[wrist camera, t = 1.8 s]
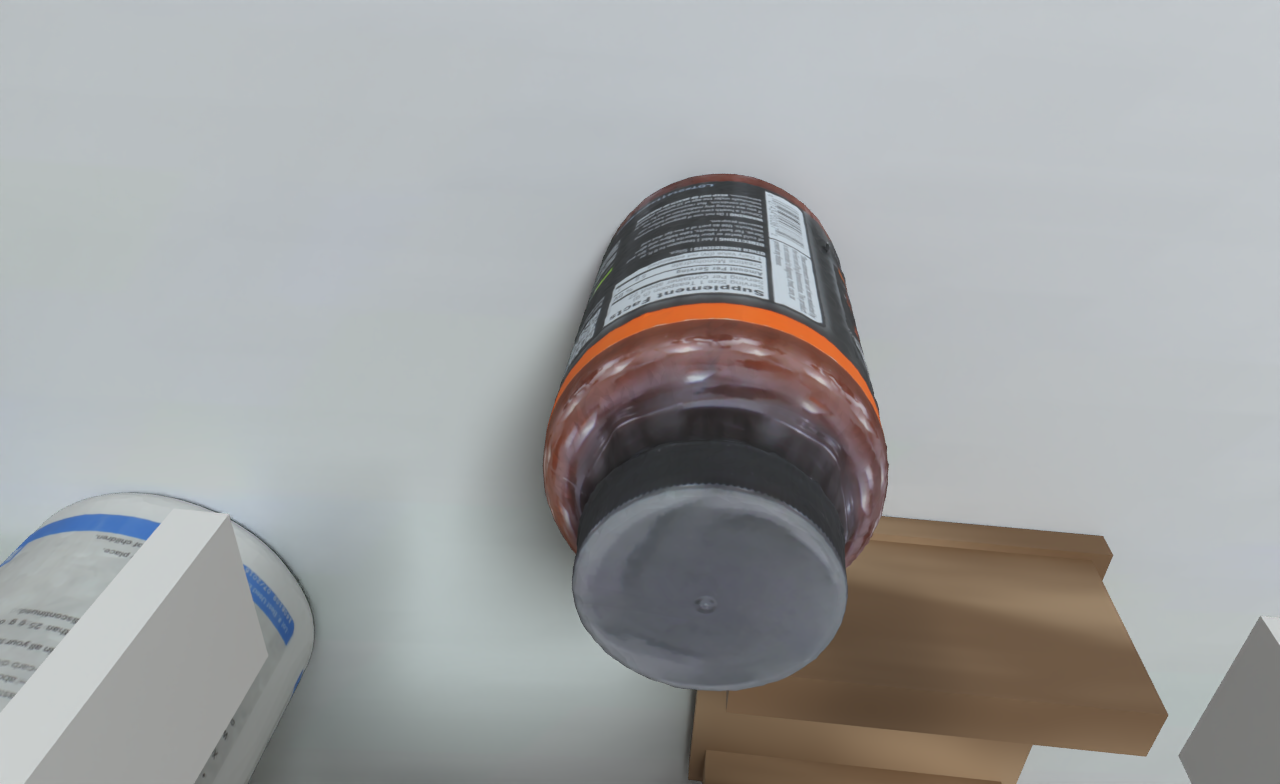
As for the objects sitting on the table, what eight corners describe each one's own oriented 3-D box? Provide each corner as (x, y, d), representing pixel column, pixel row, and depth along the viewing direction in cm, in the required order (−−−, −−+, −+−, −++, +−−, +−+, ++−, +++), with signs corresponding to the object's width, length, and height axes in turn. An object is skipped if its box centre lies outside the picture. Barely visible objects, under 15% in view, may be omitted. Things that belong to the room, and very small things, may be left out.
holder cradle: (997, 793, 32) (1046, 975, 26) (689, 760, 32) (679, 931, 27) (1103, 536, 25) (1195, 710, 20) (716, 501, 26) (711, 660, 21)
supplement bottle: (826, 388, 24) (886, 759, 14) (605, 376, 24) (515, 728, 14) (856, 166, 20) (959, 450, 11) (600, 158, 21) (482, 424, 11)
